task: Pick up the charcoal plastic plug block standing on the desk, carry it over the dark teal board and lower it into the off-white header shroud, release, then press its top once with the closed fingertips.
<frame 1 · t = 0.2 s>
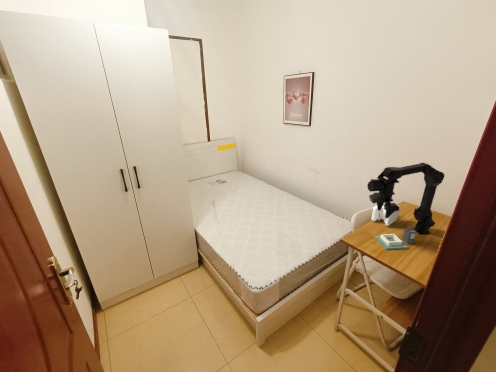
hand: (382, 214, 129), 14 cm above the table, fingers open, 9 cm apart
plug: (407, 241, 126), on the table
socket: (391, 239, 125), on the board, point 2 cm above the table
board: (390, 242, 126), on the table
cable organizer: (383, 221, 148), on the table
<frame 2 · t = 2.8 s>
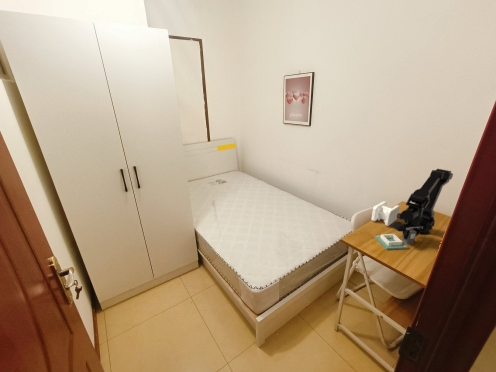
hand: (408, 238, 125), 2 cm above the table, fingers closed on plug, 4 cm apart
plug: (407, 241, 126), on the table, touching gripper
everything else where it was.
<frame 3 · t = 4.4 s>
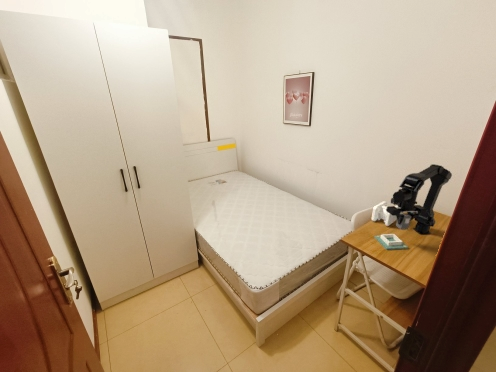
hand: (402, 223, 121), 13 cm above the table, fingers closed on plug, 4 cm apart
plug: (401, 227, 122), point 10 cm above the table, touching gripper
everything else where it was.
when the fingers open (4 cm above the table, at t = 6.0 s): plug stays where it is, resting on board.
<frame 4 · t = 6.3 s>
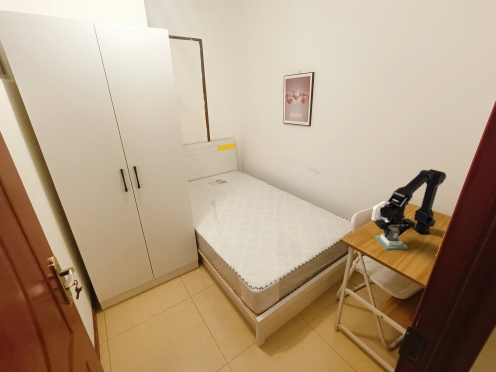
hand: (391, 236, 125), 4 cm above the table, fingers open, 7 cm apart
plug: (390, 241, 126), point 1 cm above the table, touching board
everything else where it was.
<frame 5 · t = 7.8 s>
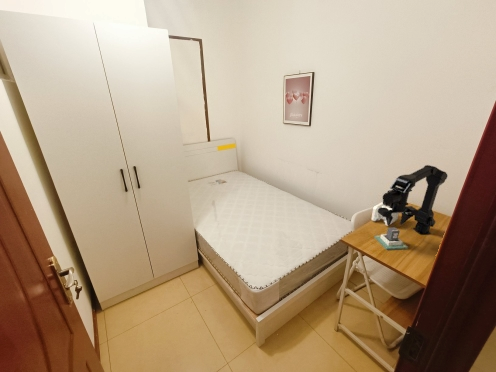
hand: (394, 224, 122), 12 cm above the table, fingers open, 7 cm apart
nothing on the table moved.
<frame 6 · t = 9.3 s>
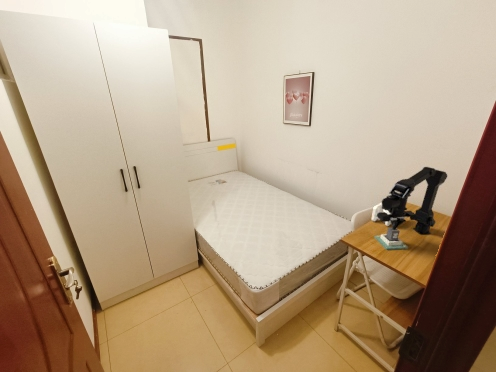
hand: (393, 229, 123), 9 cm above the table, fingers closed
nothing on the table moved.
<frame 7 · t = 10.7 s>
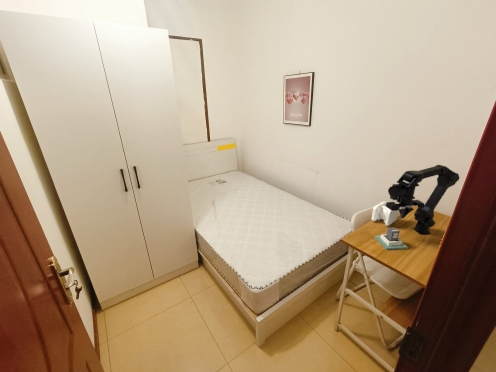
hand: (401, 218, 128), 12 cm above the table, fingers closed
nothing on the table moved.
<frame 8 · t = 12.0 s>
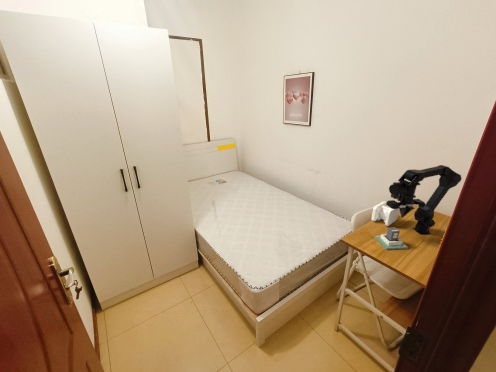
hand: (402, 216, 128), 13 cm above the table, fingers closed
nothing on the table moved.
at the end: plug 0.1 cm off-centre on the socket, point 1.0 cm above the socket's base; plug tilted 0°; the gripper is holding nothing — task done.
